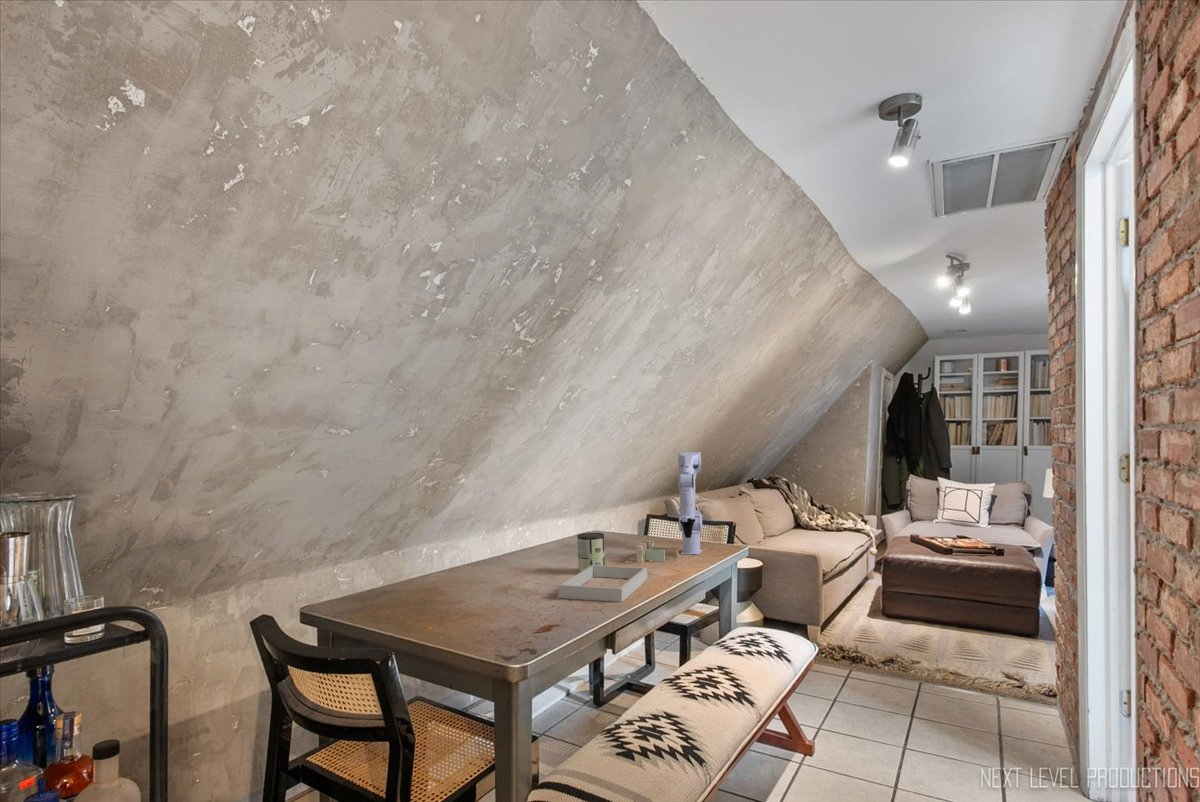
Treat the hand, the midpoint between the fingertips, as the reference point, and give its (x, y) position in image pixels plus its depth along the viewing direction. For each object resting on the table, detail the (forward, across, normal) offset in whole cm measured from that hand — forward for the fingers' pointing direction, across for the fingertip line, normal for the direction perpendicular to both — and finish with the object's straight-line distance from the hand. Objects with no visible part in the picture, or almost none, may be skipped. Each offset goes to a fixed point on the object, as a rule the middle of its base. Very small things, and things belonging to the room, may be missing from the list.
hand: (688, 537), depth 256 cm
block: (+9, 0, +13) cm, 16 cm away
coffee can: (+10, -28, +32) cm, 44 cm away
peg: (+10, 0, +10) cm, 14 cm away
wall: (+9, 0, +20) cm, 23 cm away
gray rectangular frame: (+9, -51, +19) cm, 55 cm away
